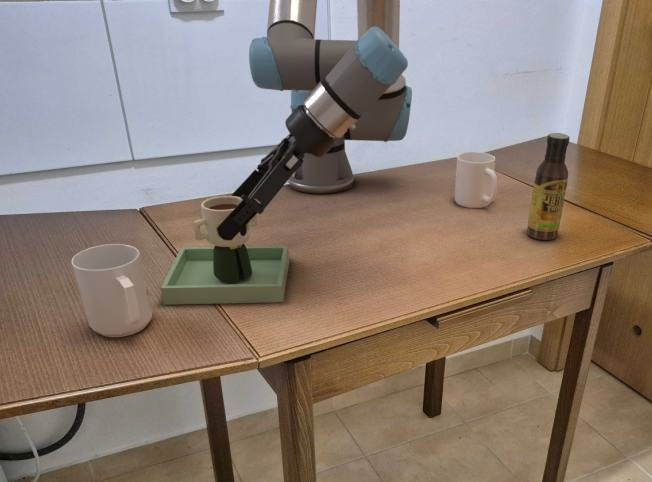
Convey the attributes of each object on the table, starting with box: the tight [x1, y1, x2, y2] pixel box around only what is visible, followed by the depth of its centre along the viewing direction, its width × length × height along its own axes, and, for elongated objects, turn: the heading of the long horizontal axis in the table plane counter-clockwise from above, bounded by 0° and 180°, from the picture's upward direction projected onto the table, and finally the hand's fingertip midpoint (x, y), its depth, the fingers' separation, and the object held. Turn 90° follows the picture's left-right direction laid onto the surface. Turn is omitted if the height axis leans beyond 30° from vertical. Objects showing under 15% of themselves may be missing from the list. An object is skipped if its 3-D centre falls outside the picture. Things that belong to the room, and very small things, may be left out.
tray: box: [160, 245, 290, 306], centre depth 108 cm, size 16×19×3 cm
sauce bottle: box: [526, 132, 571, 241], centre depth 124 cm, size 6×6×20 cm
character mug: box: [192, 195, 258, 282], centre depth 105 cm, size 11×7×13 cm, turn 130°
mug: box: [70, 243, 153, 338], centre depth 92 cm, size 12×9×11 cm
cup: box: [454, 151, 498, 209], centre depth 141 cm, size 8×12×10 cm
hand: (230, 217), depth 103 cm, fingers open, 13 cm apart
